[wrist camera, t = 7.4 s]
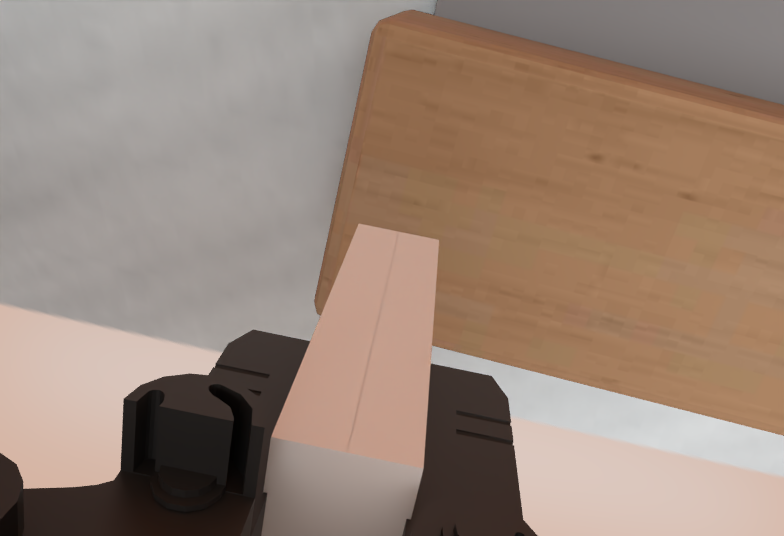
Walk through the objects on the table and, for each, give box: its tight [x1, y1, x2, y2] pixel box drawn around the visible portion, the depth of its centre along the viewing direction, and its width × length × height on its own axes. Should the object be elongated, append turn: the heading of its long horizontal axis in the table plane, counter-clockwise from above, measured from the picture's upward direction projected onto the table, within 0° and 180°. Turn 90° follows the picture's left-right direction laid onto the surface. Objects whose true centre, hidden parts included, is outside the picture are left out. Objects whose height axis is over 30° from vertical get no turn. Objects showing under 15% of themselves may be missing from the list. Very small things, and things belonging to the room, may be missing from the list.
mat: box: [435, 0, 784, 105], centre depth 31 cm, size 16×20×1 cm
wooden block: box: [314, 10, 784, 436], centre depth 27 cm, size 10×10×20 cm
